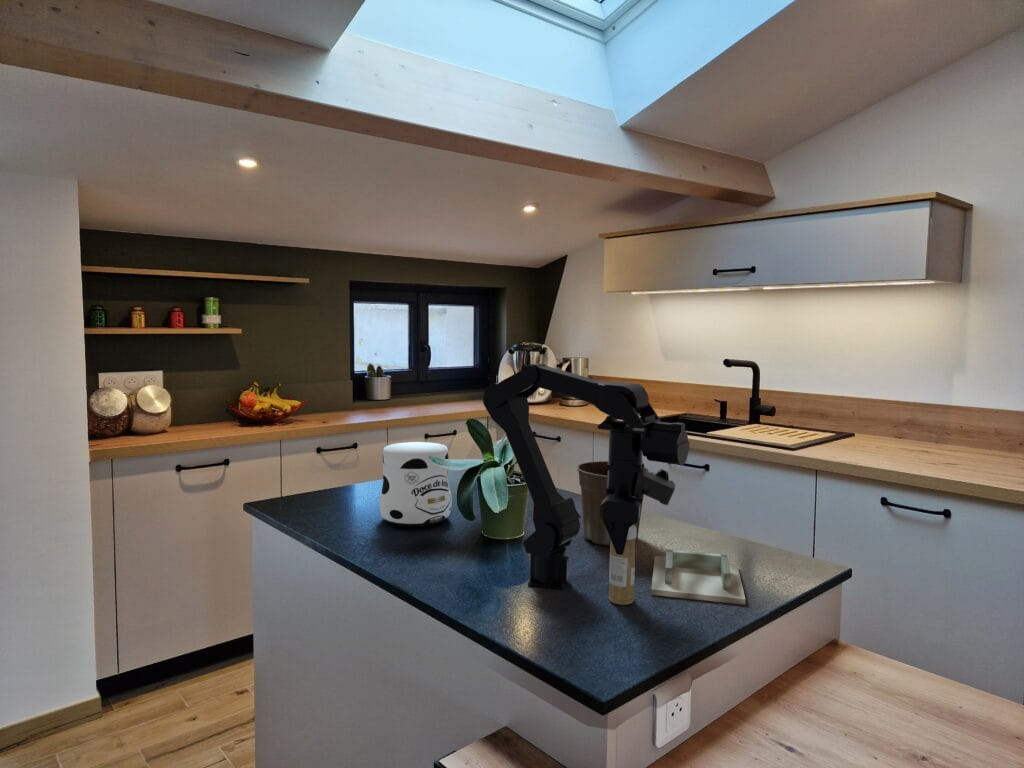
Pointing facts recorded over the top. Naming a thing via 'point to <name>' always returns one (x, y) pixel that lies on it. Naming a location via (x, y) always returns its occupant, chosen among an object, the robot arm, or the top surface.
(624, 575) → the sprinkles bottle
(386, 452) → the doce de leite jar
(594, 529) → the plant pot
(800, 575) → the top surface
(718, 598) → the u rest
